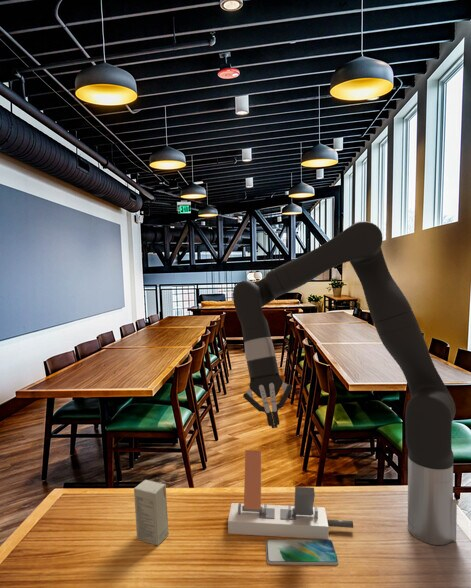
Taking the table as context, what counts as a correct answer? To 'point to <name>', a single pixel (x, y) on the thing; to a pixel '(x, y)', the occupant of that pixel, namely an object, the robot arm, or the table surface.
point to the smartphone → (301, 552)
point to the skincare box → (151, 511)
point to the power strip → (282, 522)
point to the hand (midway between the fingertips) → (274, 427)
